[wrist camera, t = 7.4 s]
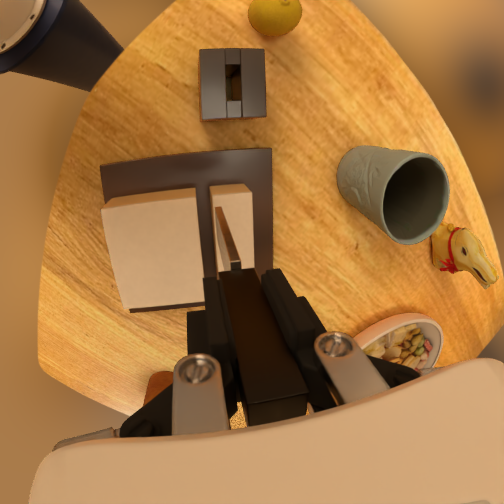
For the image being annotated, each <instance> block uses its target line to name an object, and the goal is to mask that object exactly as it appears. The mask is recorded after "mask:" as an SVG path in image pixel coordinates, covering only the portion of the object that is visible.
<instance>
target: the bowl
mask: <svg viewBox="0 0 504 504" xmlns="http://www.w3.org/2000/svg"><path fill="white" fill-rule="evenodd" d="M353 339H354V340H355V341H356V342H357V344H358V345H359V346H360V348H361V349H362V350H363V352H364V353H365V354H366V355H370V356H373V357H376V358H380V359H383V360H387V361H390V362H394V363H397V364H401V365H405V366H408V367H410V368H413V369H414V370H415V371H417V372H418V370H419V369H423V368H433V367H434V365H435V364H436V362H437V360H438V358H439V355H440V353H441V350H442V346H443V332H442V329H441V327H440V325H439V324H438V323H437V322H436V321H435V320H433V319H432V318H431V317H429V316H427V315H424V314H420V313H403V314H398V315H394V316H391V317H388V318H386V319H383V320H381V321H379V322H377V323H375V324H373V325H371V326H370V327H368V328H366V329H365V330H363V331H362V332H360V333H359V334H358V335H356V336H355V337H354V338H353Z"/></svg>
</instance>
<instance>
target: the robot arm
mask: <svg viewBox="0 0 504 504" xmlns="http://www.w3.org/2000/svg"><path fill="white" fill-rule="evenodd" d="M45 4H46V0H0V54H2V53H4V52H6V51H8V50H10V49H11V48H13V47H14V46H16V45H17V44H18V43H19V42H20V41H21V40H22V39H23V38H24V37H25V36H26V35H27V34H28V33H29V32H30V31H31V29H32V28H33V27H34V25H35V24H36V23H37V21H38V19H39V18H40V16H41V14H42V12H43V10H44V7H45ZM202 279H203V290H204V300H205V310H200V311H191V312H187V348H188V356H185V357H183V358H182V359H180V360H179V361H178V362H177V364H176V365H175V367H174V372H173V383H172V384H170V385H169V386H168V387H167V388H165V389H164V390H163V391H162V392H161V393H159V394H158V395H157V396H156V397H154V398H153V399H152V400H151V401H149V402H148V403H147V404H146V405H144V406H143V407H142V408H141V409H139V410H138V411H137V412H135V413H134V414H133V415H132V416H130V417H129V418H128V419H127V420H126V421H125V422H124V423H123V424H122V426H121V428H119V429H115V430H114V429H113V428H112V427H111V428H107V429H104V430H100V431H96V432H93V433H89V434H85V435H81V436H77V437H73V438H69V439H64V440H62V441H60V442H58V443H57V444H56V445H55V446H54V449H53V451H52V452H51V453H50V454H48V455H47V456H46V457H45V458H44V459H43V461H42V462H41V464H40V465H39V468H38V470H37V472H36V475H35V478H34V481H33V485H32V488H31V493H30V497H29V503H28V504H504V364H503V363H502V362H500V361H498V360H496V359H491V358H476V359H470V360H465V361H460V362H457V363H454V364H451V365H448V366H446V367H435V368H423V369H419V370H418V372H417V371H415V370H414V369H413V368H410V367H408V366H405V365H401V364H397V363H394V362H390V361H387V360H383V359H380V358H376V357H373V356H370V355H366V354H365V353H364V352H363V350H362V349H361V348H360V346H359V345H358V344H357V342H356V341H355V340H354V339H353V338H352V337H351V336H349V335H347V334H345V333H342V332H335V331H332V332H327V331H326V329H325V328H324V326H323V324H322V323H321V321H320V320H319V318H318V317H317V315H316V313H315V312H314V310H313V309H312V307H311V306H310V304H309V302H308V301H307V299H306V298H305V297H304V296H301V297H297V296H296V294H295V293H294V291H293V289H292V288H291V286H290V284H289V283H288V281H287V279H286V278H285V276H284V274H283V273H282V271H281V269H280V268H279V269H271V270H266V272H265V274H261V285H262V287H263V290H264V292H265V294H266V297H267V299H268V301H269V303H270V306H271V308H272V310H273V313H274V315H275V317H276V319H277V322H278V324H279V326H280V328H281V331H282V333H283V335H284V338H285V340H286V342H287V344H288V347H289V348H290V349H291V351H292V353H293V356H294V358H295V360H296V362H297V364H298V367H299V369H300V371H301V373H302V376H303V378H304V380H305V382H306V385H307V387H308V389H309V391H310V392H309V399H308V404H307V409H308V411H309V414H308V415H304V416H300V417H296V418H292V419H287V420H282V421H278V422H273V423H268V424H262V425H257V426H251V427H245V428H239V429H232V430H231V425H230V418H231V417H232V416H233V415H234V414H235V413H236V412H237V411H238V407H237V402H241V398H240V394H239V385H238V376H237V366H236V357H237V352H236V344H235V338H234V333H233V329H232V324H231V320H230V315H229V311H228V306H227V301H226V297H225V292H224V287H223V283H222V279H219V280H216V276H213V277H205V278H202Z"/></svg>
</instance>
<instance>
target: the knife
mask: <svg viewBox="0 0 504 504" xmlns="http://www.w3.org/2000/svg"><path fill="white" fill-rule="evenodd" d="M215 219H216V231H217V241H218V246H219V250H220V254H221V259H222V263H223V267H224V271H221V272H218V277H219V279H222V283H223V287H224V292H225V297H226V301H227V306H228V311H229V315H230V320H231V324H232V329H233V333H234V338H235V344H236V352H237V357H236V366H237V376H238V385H239V394H240V398H241V403H242V407H243V412H244V416H245V420H246V425H247V427H251V426H257V425H262V424H268V423H273V422H278V421H282V420H287V419H292V418H296V417H300V416H304V415H306V410H307V404H308V399H309V392H310V391H309V389H308V387H307V385H306V382H305V380H304V378H303V376H302V373H301V371H300V369H299V367H298V364H297V362H296V360H295V358H294V356H293V353H292V351H291V349H290V348H289V347H288V344H287V342H286V340H285V338H284V335H283V333H282V331H281V328H280V326H279V324H278V322H277V319H276V317H275V315H274V313H273V310H272V308H271V306H270V303H269V301H268V299H267V297H266V294H265V292H264V290H263V287H262V285H261V281H260V279H259V277H258V275H257V272H256V270H255V268H246V269H242V263H241V258H240V256H239V253H238V250H237V248H236V245H235V242H234V240H233V237H232V234H231V231H230V229H229V226H228V223H227V221H226V218H225V215H224V212H223V210H222V207H221V206H219V207H215Z"/></svg>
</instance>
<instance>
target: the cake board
mask: <svg viewBox="0 0 504 504" xmlns="http://www.w3.org/2000/svg"><path fill="white" fill-rule="evenodd" d="M100 172H101V179H102V187H103V193H104V200H105V204H106V203H107V202H108V201H110V200H111V199H112V198H116V197H122V196H129V195H137V194H144V193H152V192H160V191H168V190H177V189H187V188H195V189H196V200H197V212H198V222H199V233H200V242H201V252H202V261H203V270H204V278H205V277H213V276H216V280H217V273H216V262H215V251H214V240H213V228H212V215H211V202H210V188H209V187H210V186H218V185H231V184H245V186H246V187H247V188H248V189H249V190H250V191H251V192H252V203H253V236H254V268H255V270H256V272H257V275H258V277H259V279H260V281H261V274H265V272H266V270H271V269H273V200H272V148H247V149H229V150H215V151H202V152H192V153H182V154H172V155H164V156H156V157H148V158H141V159H134V160H128V161H121V162H115V163H110V164H104V165H101V166H100ZM198 306H205V301H203V302H193V303H184V304H174V305H164V306H154V307H143V308H131V309H129V310H130V313H136V312H148V311H159V310H169V309H179V308H188V307H198Z"/></svg>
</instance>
